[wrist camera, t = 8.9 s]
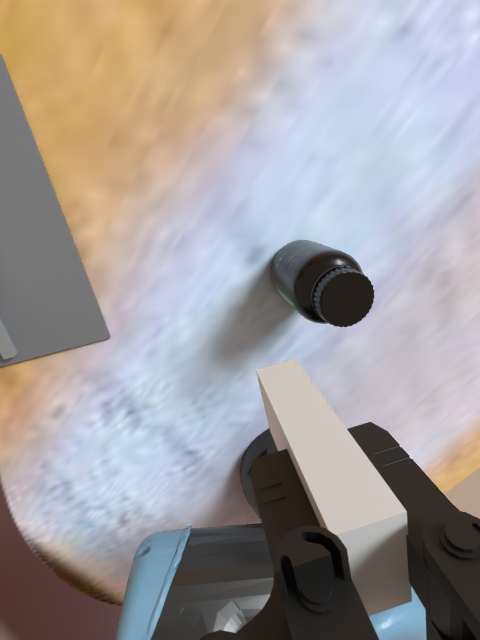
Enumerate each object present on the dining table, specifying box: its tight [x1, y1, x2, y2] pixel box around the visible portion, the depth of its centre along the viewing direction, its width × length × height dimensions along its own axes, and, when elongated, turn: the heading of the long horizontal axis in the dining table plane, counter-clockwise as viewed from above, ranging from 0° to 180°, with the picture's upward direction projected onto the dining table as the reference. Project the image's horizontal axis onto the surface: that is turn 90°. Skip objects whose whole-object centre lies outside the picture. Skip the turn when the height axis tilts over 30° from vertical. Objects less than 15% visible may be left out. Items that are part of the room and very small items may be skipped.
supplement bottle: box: [271, 240, 374, 327], centre depth 34 cm, size 7×7×12 cm
